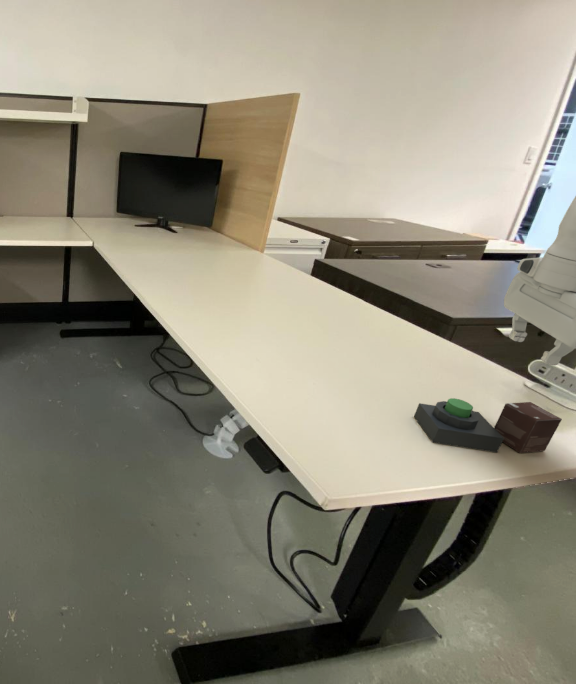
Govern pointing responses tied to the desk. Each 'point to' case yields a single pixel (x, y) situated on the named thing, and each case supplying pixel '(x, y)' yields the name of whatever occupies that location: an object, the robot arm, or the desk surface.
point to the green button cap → (458, 408)
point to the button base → (457, 428)
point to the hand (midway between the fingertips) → (531, 351)
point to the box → (526, 426)
